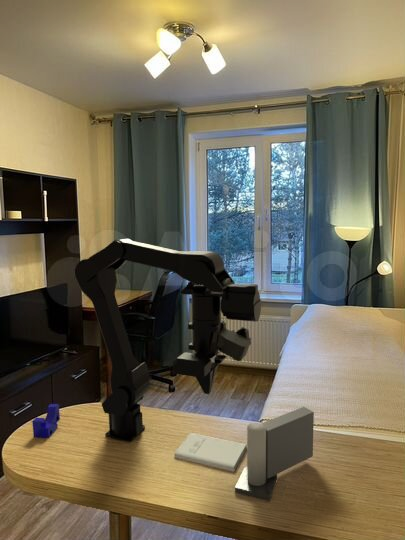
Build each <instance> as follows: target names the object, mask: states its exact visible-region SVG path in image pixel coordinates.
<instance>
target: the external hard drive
mask: <svg viewBox="0 0 405 540" xmlns="http://www.w3.org/2000/svg"><path fill="white" fill-rule="evenodd" d="M246 451H247V443H246V444H245V443H241V442H236V441H233V440H226V439H222V438H217V437H212V436H208V435H202V434H198V433H193V432H190V433H189V434H188V436H187V437H186V438H185V439H184V440H183V442H182V443H181V444H180V445H179V447H178V448H177V449H176V450H175V451H174V454H173V455H174V456H173V457H174V458H176V459H181V460H184V461H187V462H188V461H189V462H193V463H197V464H200V465H206V466H209V467H214V468H217V469H221V470H226V471H230V472H235V471H236V469H237V467H238V465H239V463H240V461H241V460H242V458H243V456H244V454H245V452H246Z"/></svg>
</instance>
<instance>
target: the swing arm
mask: <svg viewBox="0 0 405 540" xmlns="http://www.w3.org/2000/svg"><path fill="white" fill-rule="evenodd" d="M314 414H315V413H314V411H313V410H311V409H309V408H307V407H305V406H303V407H299V408H297V409H294V410H292V411H289V412H287V413H284V414H282V415H280V416H277V417H275V418H274V417H273V418H272V419H270V420H267V421H264V422H251V423H249V424H248V425H247V426H246V431H247V433H246V436H247V438H246V445H247V449H246V451H247V456H246V460H247V461H246V464H247V465H246V468H247V481H248V482H249V483H250V484H251V485H254V486H261V485H263V484H264V483H265V482H266V478H267V479H268V478H270V477H272V476H274V475H276V474H277V475H279V474H280V473H282V472H284V471H286V470H289V469H290V468H292V467H295V466H296V465H298V464H300V463H302V462H304V461H306V460H309V459H310V458H312V457H313V456H314V426H315V425H314V422H315V419H314V417H315V416H314Z"/></svg>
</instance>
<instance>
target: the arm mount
mask: <svg viewBox="0 0 405 540" xmlns="http://www.w3.org/2000/svg"><path fill="white" fill-rule="evenodd" d="M277 480H278V474H276V475H274V476H272V477H270V478H268V479H267V478H266V482H265V483H264V484H263V485H261V486H254V485H251V484H250V483H249V482H248V481H247V466H246V467H245V466H244V468H243V470H242V473H241V474H240V476H239V478H238V480H237V483H236V485H235V487H234V493H235V494H239V495H242V496H247V497H251V498H254V499H257V500H262V501H266V502H270V501H271V498H272V495H273V492H274V489H275V487H276V484H277Z"/></svg>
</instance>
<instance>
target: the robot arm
mask: <svg viewBox="0 0 405 540" xmlns="http://www.w3.org/2000/svg"><path fill="white" fill-rule="evenodd" d="M126 261H128V262H131V263H135V264H141V265H145V266H148V267H153V268H156V269H157V268H158V269H162V270H165V271H170V272H172V273H174V274H176V275H177V276H179V278H182V279H184V280H186V281H188V282H187V284H186V286H185V287H184V288H182V289H181V290H180V294H181V295H186V296H187V295H190V296H191V299H190V300H191V322H189V323H187V330H191V336H192V337H191V342H190V343H189V344H188V350H189V351H194V353H193V352H186V351H185V352H183V353H182V354H180V355H179V356H178V357H176V358H175V359H174V361H173V362H172V373H173V374H175V375H181V376H188V377H192V378H193V377H194V378H196V380H197V382H198V384H199V386H200V388H201V390H202V392H203V394H205V395H210V394H211V391H212V388H213V384H214V381H215V377H216V374H217V373H216V372H217V369H218V366H219V365H221V363H222V362H223V361H225V359H226V358H227V356H228V357H230V358H231V359H232V360H234V361H236V362H241V361H242V360H243V359H244V358H245V357H246V356H247V353H248V350H249V348H250V346H251V345H252V338H251V337H250V332H249V331H250V330H249V329H248V328H245V327H244V326H241V327H240V328H239V329H237V331H235V330H234V329H232V330H229V329H227V323H226V322H225V320H224V319H222V316H223V317H225V318H226V319H227V320H231V321H232V320H234V321H243V322H255V323H256V322H257V323H258V322H259V320H260V316H261V312H262V299H261V296H260V295H261V294H260V292H259V285H258V284H254V283H253V284H252V283H251V284H236V283H235V280H234V279H233V278H232V277H231V275H230V274H229V272H228V271H227V269H226V268H225V264H224V261H223V258H222V257H221V255H220V254H219V253H217V252H215V251H203V250H202V251H201V250H200V251H194V250H193V251H187V250H186V251H185V250H184V251H181V250H180V251H179V250H175V249H171V248H165V247H162V246H158V245H153V244H148V243H143V242H139V241H134V240H132V239H130V238H121V239H115V240H112V242H110V243H109V244H108V245H107V246H106V247H104V248H103V249H101V250H99V251H97V252H96V253H94V254H92V255H91V256H90V257H88V258H84V259H81V260H79V261H78V262H77V263H76V266H75V268H74V270H73V273H74V277H75V281H77V282H76V283H77V284H78V286H79V288H80V290H81V292H82V293H83V294H84V295H85V296H86V297H87V298H88V299H89V300H90V301H91V303H92V305H93V310H94V312H95V315H96V319H97V322H98V324H99V328H100V331H101V335H102V338H103V340H104V344H105V347H106V350H107V354H108V356H109V360H110V364H111V369H110V370H111V372H110V376H109V384H110V390H111V391H110V392H111V394H110V395H109V396H107V398H106V399H104V401H102V402H101V407H102V410H103V413H105V414H108V426H109V427H108V428H109V430H107V432H105V433H104V435H105V437H107V438H111V439H115V440H120V441H122V442H123V441H124V442H129V443H130V442H132V441H133V440H134V439H135V438H136V437H137V436H138V435H139V434H140V433H141V432H142V431H143V430H144V429H145V428H146V425H145V424H143V411H141V403H140V404H139V402H140V401H142V400H143V399H144V396H145V395H146V394H147V393H148V392H149V390H150V388H151V380H152V379H153V378H152V376H151V375H150V373H149V369H148V364H147V363H146V362H145V361H144V362H142V363H141V362H139V361H138V360H137V359H136V357H135V355H134V353H133V350H132V346H131V343H130V340H129V337H128V333H127V330H126V327H125V322H124V321H123V317H122V314H121V311H120V307H119V305H118V301H117V298H116V287H117V281H118V279H117V274H116V272H117V270H118V269H120V268H121V267H122V266H124V264H125V263H126ZM221 353H222V354H221ZM223 354H224V355H223Z"/></svg>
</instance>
